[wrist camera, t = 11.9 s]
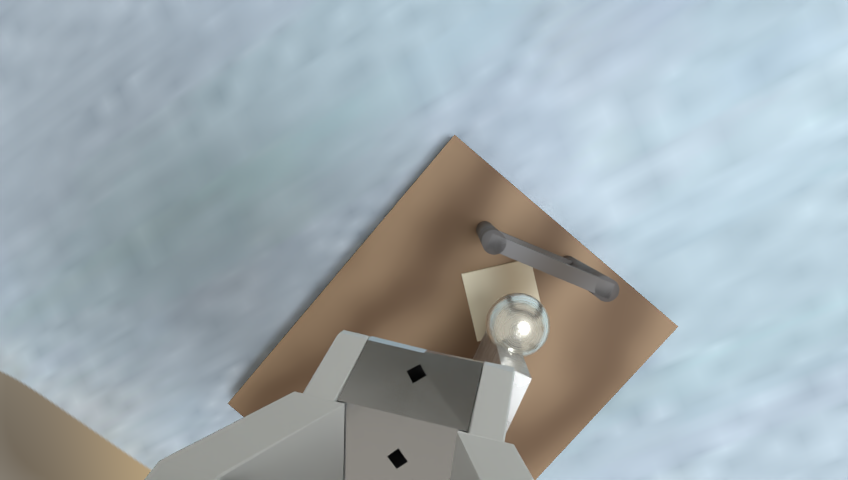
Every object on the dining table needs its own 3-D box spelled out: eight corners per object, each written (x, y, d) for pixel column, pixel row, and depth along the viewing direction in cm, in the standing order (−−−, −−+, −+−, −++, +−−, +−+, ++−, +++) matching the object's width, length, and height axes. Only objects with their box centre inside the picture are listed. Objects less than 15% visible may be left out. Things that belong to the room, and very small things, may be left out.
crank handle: (457, 251, 40) (457, 275, 28) (579, 305, 40) (630, 352, 28) (346, 500, 42) (301, 623, 30) (461, 553, 42) (462, 697, 30)
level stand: (238, 394, 44) (148, 474, 31) (454, 137, 42) (452, 112, 29) (439, 566, 44) (431, 716, 31) (667, 320, 42) (758, 375, 29)
